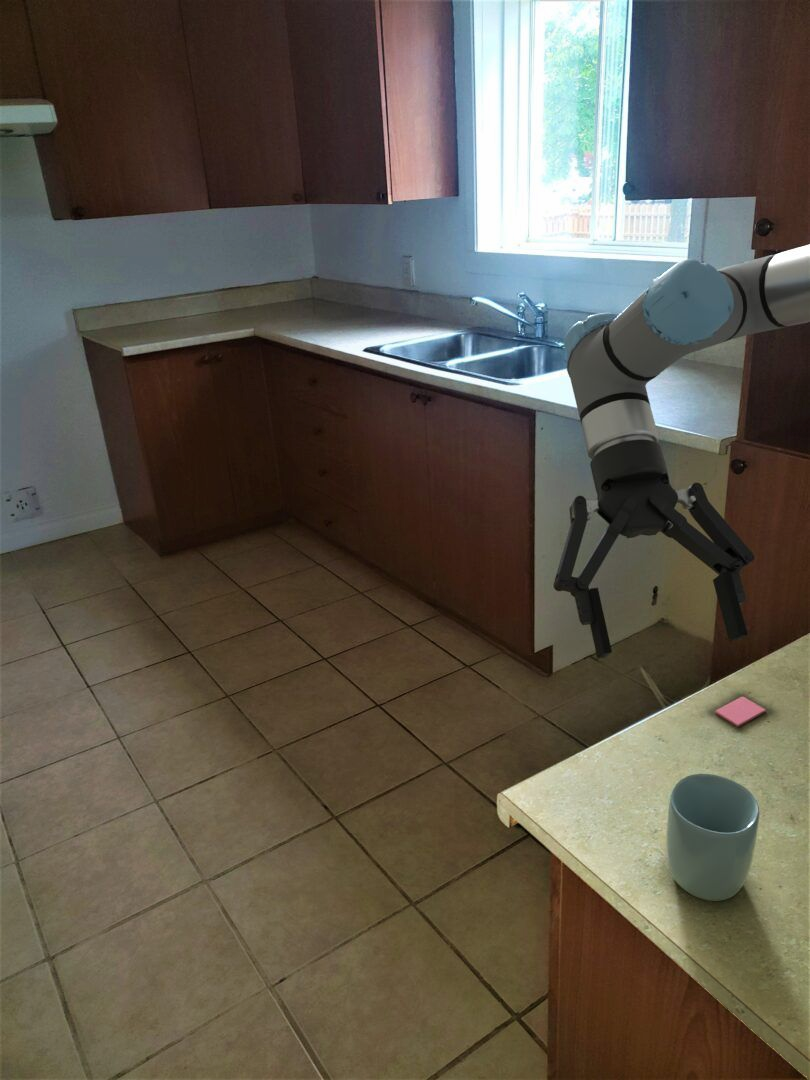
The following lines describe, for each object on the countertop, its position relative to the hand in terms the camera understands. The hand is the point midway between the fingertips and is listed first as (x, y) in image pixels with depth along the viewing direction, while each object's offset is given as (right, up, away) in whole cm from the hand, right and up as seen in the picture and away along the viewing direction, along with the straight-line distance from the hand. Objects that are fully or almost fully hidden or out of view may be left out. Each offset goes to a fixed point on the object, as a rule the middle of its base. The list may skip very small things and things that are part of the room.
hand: (672, 647), depth 80 cm
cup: (+3, -23, -1) cm, 23 cm away
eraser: (+15, -11, +20) cm, 28 cm away
